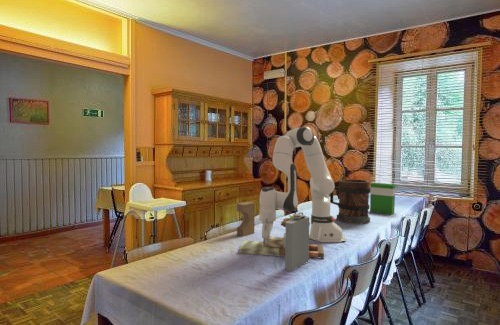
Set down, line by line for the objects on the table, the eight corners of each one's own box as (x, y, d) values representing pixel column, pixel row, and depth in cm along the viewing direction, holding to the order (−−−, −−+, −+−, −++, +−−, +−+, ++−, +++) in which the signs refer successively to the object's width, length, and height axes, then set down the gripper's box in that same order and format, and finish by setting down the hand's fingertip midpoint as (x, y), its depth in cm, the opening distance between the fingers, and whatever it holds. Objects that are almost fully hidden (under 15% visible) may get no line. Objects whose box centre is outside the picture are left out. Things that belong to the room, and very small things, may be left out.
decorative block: (242, 236, 205) (242, 204, 203) (236, 234, 209) (236, 203, 208) (254, 233, 212) (255, 202, 211) (248, 231, 217) (249, 201, 215)
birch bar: (293, 246, 179) (293, 238, 179) (292, 248, 175) (293, 241, 174) (263, 242, 182) (264, 235, 181) (263, 245, 177) (263, 238, 177)
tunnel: (298, 245, 181) (298, 233, 180) (298, 250, 172) (298, 238, 172) (284, 244, 182) (284, 232, 181) (283, 249, 174) (283, 237, 173)
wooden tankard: (365, 225, 233) (366, 183, 231) (325, 220, 249) (325, 180, 247) (372, 219, 252) (374, 180, 250) (335, 214, 268) (336, 177, 266)
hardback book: (370, 211, 280) (370, 183, 278) (372, 210, 285) (373, 182, 284) (391, 214, 269) (392, 185, 267) (394, 212, 275) (395, 184, 273)
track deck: (322, 249, 181) (322, 244, 181) (324, 258, 168) (324, 253, 168) (244, 244, 189) (244, 240, 188) (239, 253, 175) (239, 248, 175)
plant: (308, 221, 246) (308, 206, 245) (310, 228, 227) (311, 212, 226) (281, 220, 248) (281, 205, 247) (281, 227, 229) (281, 211, 228)
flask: (301, 259, 166) (302, 210, 165) (309, 261, 163) (310, 211, 162) (282, 269, 153) (282, 216, 151) (290, 272, 150) (291, 218, 148)
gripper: (271, 221, 167) (271, 248, 168) (274, 213, 187) (274, 236, 188) (259, 221, 168) (259, 247, 169) (263, 212, 188) (263, 236, 189)
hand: (267, 242), depth 179 cm, fingers closed on birch bar, 4 cm apart
